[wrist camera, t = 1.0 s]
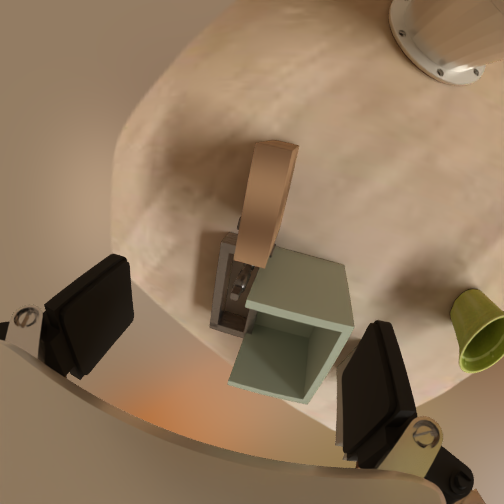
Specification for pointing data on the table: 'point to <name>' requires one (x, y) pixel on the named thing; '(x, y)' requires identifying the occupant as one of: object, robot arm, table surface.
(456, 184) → the table surface
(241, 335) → the grey brown open box
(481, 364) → the plant pot
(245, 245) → the door
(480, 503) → the robot arm
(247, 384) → the box
